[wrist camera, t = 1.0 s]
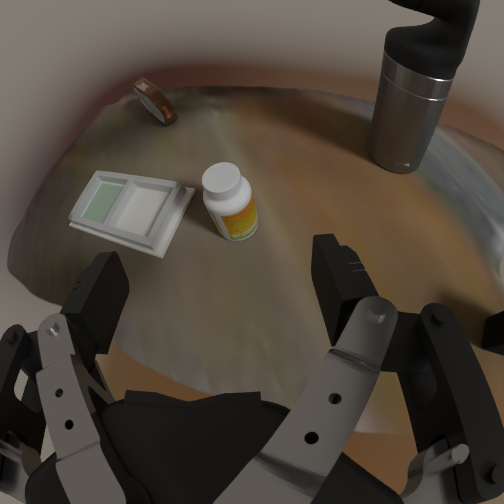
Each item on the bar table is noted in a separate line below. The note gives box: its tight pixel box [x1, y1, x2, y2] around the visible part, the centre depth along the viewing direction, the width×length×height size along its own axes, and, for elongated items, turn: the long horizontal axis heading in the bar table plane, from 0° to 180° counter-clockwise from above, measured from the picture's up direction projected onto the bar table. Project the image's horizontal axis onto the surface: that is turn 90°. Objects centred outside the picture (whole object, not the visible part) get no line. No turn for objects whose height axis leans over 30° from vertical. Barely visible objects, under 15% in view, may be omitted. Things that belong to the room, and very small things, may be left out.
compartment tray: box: [68, 170, 195, 259], centre depth 39 cm, size 11×21×2 cm, turn 71°
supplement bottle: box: [202, 162, 258, 241], centre depth 32 cm, size 5×5×10 cm
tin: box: [132, 77, 178, 125], centre depth 46 cm, size 15×3×8 cm, turn 39°
